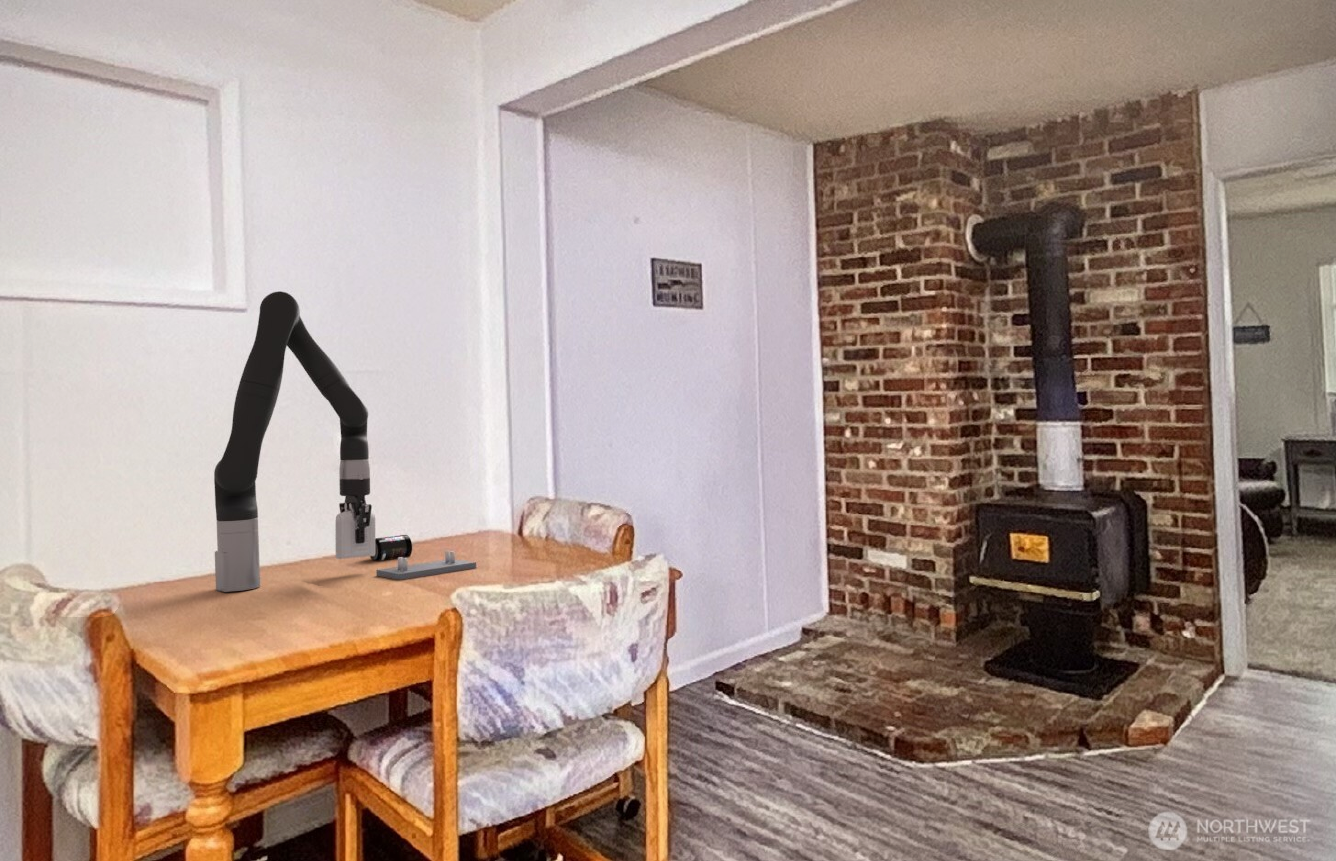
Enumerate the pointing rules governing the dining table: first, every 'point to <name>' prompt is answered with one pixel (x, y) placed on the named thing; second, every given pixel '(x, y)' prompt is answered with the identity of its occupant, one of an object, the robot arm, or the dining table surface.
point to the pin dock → (425, 567)
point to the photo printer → (353, 537)
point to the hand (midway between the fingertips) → (355, 542)
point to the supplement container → (392, 547)
